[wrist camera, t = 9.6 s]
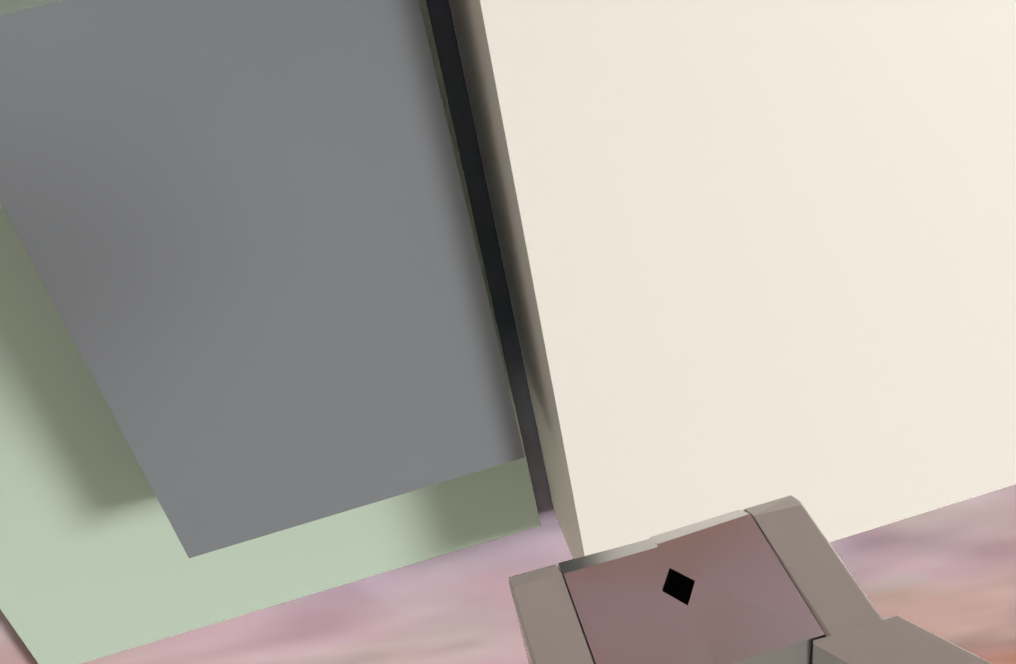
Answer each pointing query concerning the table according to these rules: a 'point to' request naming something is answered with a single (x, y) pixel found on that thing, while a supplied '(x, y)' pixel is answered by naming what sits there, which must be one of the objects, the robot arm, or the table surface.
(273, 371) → the slate tile
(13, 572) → the green mat
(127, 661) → the table surface
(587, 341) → the raised deck
